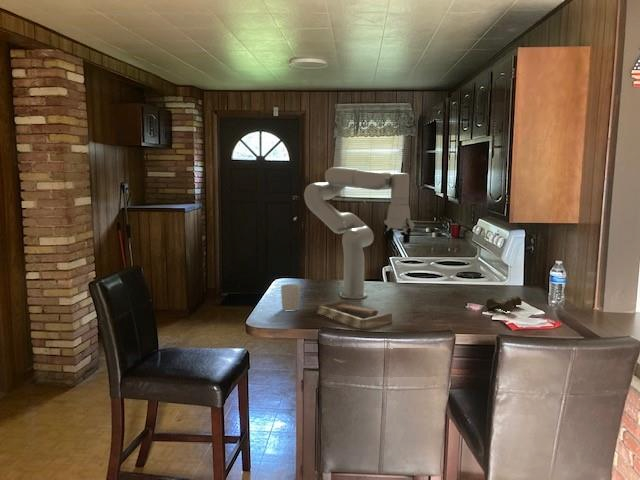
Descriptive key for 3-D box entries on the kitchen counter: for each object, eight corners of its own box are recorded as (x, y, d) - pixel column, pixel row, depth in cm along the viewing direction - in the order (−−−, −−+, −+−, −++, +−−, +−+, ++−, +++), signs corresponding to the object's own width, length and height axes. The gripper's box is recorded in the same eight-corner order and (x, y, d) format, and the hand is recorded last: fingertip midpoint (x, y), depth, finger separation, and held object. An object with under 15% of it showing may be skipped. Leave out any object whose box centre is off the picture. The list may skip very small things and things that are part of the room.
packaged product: (331, 306, 207) (345, 301, 215) (331, 318, 208) (344, 312, 216) (372, 313, 197) (384, 308, 205) (371, 326, 198) (384, 320, 206)
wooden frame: (316, 313, 212) (316, 305, 212) (344, 307, 222) (344, 299, 221) (363, 329, 192) (363, 320, 191) (391, 322, 201) (392, 313, 201)
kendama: (527, 310, 223) (500, 316, 210) (506, 306, 230) (479, 312, 218) (527, 296, 222) (500, 302, 210) (507, 292, 230) (480, 298, 217)
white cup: (302, 308, 220) (302, 285, 219) (295, 313, 213) (295, 289, 212) (285, 306, 223) (285, 283, 222) (278, 311, 216) (277, 287, 214)
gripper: (379, 201, 229) (378, 239, 231) (408, 203, 215) (406, 244, 217) (391, 200, 233) (390, 238, 235) (420, 203, 219) (419, 243, 222)
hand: (398, 241), depth 226 cm, fingers open, 9 cm apart
